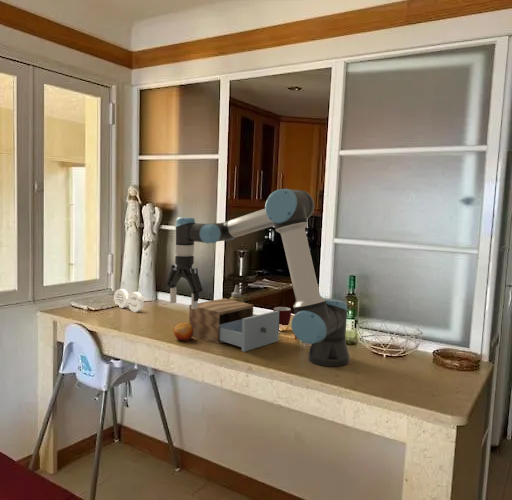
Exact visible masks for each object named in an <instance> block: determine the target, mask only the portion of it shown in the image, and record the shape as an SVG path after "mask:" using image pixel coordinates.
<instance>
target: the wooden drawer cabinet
mask: <svg viewBox="0 0 512 500" xmlns="http://www.w3.org/2000/svg"><path fill="white" fill-rule="evenodd" d="M188 312H189V315H188V316H189V318H188V323H190V324H191V326H192V328H193V335H192V337H195V338H197V339H202V340H204V341H207V342H211V343H213V344H217V345H219V344H223V343H224V342H223V341H220V340H219V324H223V323H227V322H231V321H235V320H240V319H243V318H248V317H252V316H254V304H251V303H246V302H244V301H243V302H238V301H234V300H230V298H225V297H223V298H219V299H213V300H209V301H204V302H198V308H197V309H191V304H189V311H188Z"/></svg>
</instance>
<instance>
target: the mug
mask: <svg viewBox="0 0 512 500" xmlns="http://www.w3.org/2000/svg"><path fill="white" fill-rule="evenodd" d="M273 311H279V324H282V325H288V324H289V325H290V322H291V315H292V309H291V308H290V307H287V306H275V307H274V308H273V310H272V312H273Z"/></svg>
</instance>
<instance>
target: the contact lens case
mask: <svg viewBox="0 0 512 500" xmlns="http://www.w3.org/2000/svg"><path fill="white" fill-rule="evenodd" d="M113 301H114V303H115V305H116V304H118V305H119V307H121V308H120V309H124V308H127V307H128V308H129V310H130V311H131V312H134V313H137V312H140V311H142V309H143V308H144V304H145V303H144V302H145V301H144V297H143V295H142V294H141V293H140V292H139V291H134V292H133V291H132V292H130V293H129V291H127V290H126V289H125V288H119V289H116V290H115V291H114V293H113Z"/></svg>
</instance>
